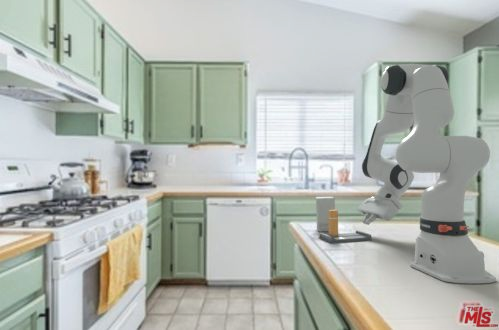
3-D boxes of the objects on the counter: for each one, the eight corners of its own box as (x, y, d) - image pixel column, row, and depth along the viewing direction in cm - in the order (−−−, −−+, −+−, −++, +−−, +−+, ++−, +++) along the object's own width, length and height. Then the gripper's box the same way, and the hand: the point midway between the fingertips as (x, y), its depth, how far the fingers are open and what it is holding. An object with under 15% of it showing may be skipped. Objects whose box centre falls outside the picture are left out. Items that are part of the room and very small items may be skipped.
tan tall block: (335, 235, 145) (334, 209, 145) (339, 236, 141) (339, 210, 141) (327, 235, 144) (327, 209, 144) (331, 237, 140) (331, 211, 140)
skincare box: (333, 229, 166) (333, 196, 166) (335, 231, 159) (335, 197, 159) (315, 229, 167) (315, 196, 167) (317, 231, 160) (316, 197, 160)
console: (357, 235, 151) (357, 230, 151) (371, 240, 141) (371, 234, 141) (319, 238, 146) (319, 232, 146) (330, 243, 137) (330, 237, 137)
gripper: (366, 192, 158) (347, 214, 156) (396, 196, 138) (374, 222, 136) (375, 201, 159) (356, 224, 157) (405, 206, 139) (384, 233, 137)
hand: (365, 223), depth 146 cm, fingers closed
